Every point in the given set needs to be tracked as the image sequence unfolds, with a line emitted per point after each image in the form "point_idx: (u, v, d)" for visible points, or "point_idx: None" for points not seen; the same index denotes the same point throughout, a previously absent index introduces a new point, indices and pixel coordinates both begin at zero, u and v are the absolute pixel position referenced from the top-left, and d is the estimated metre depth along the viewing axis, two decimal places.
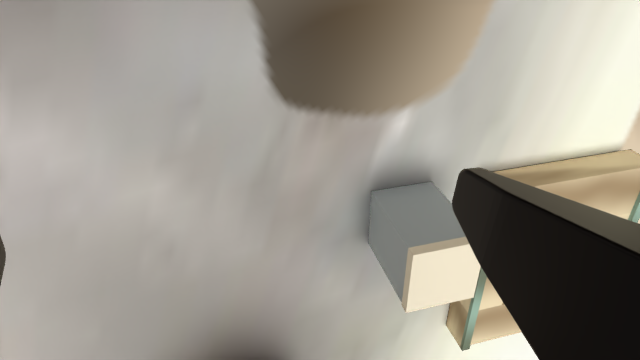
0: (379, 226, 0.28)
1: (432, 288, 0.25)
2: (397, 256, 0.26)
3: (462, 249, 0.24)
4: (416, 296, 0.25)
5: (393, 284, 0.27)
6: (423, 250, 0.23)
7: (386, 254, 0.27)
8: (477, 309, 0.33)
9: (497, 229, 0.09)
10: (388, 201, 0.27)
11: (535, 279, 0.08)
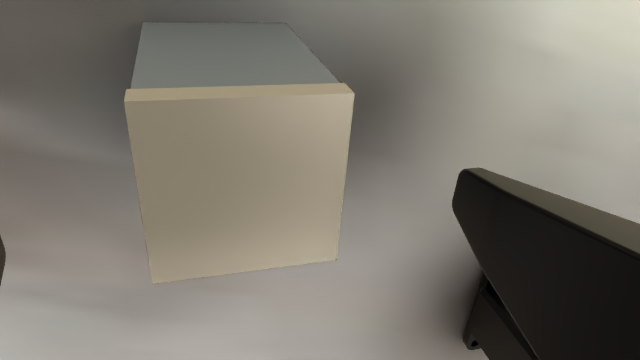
0: None
1: (276, 217, 0.10)
2: None
3: (151, 168, 0.09)
4: (291, 250, 0.10)
5: None
6: (148, 255, 0.10)
7: None
8: None
9: (497, 229, 0.09)
10: None
11: (535, 279, 0.08)
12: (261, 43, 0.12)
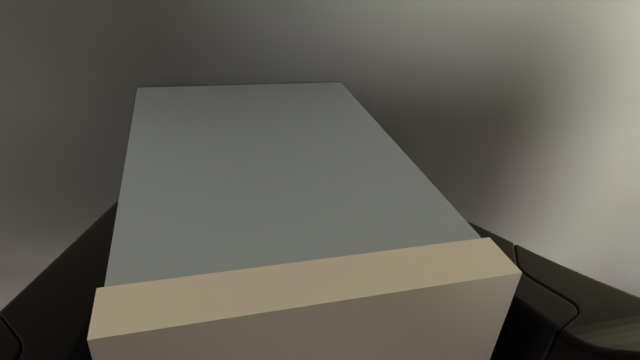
0: None
1: None
2: None
3: None
4: None
5: None
6: None
7: None
8: None
9: None
10: None
11: None
12: (317, 129, 0.08)
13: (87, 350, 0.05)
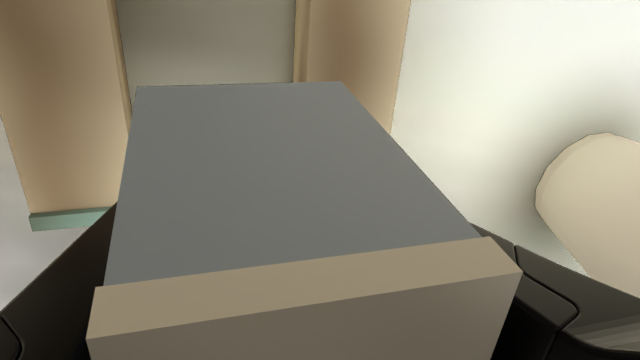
0: None
1: None
2: None
3: None
4: None
5: None
6: None
7: None
8: None
9: None
10: None
11: None
12: (317, 128, 0.08)
13: (87, 350, 0.05)
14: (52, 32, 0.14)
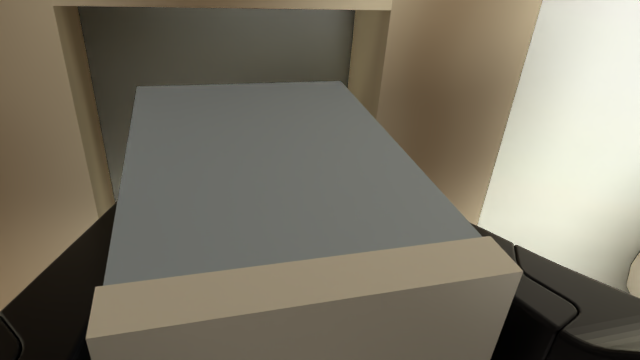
0: None
1: None
2: None
3: None
4: None
5: None
6: None
7: None
8: None
9: None
10: None
11: None
12: (317, 128, 0.08)
13: (87, 350, 0.05)
14: None
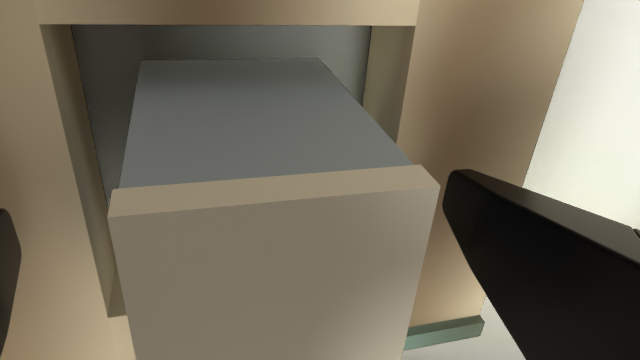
0: None
1: (322, 344, 0.07)
2: None
3: (149, 300, 0.06)
4: None
5: None
6: None
7: None
8: None
9: (486, 230, 0.09)
10: None
11: (523, 281, 0.08)
12: (293, 92, 0.09)
13: None
14: None
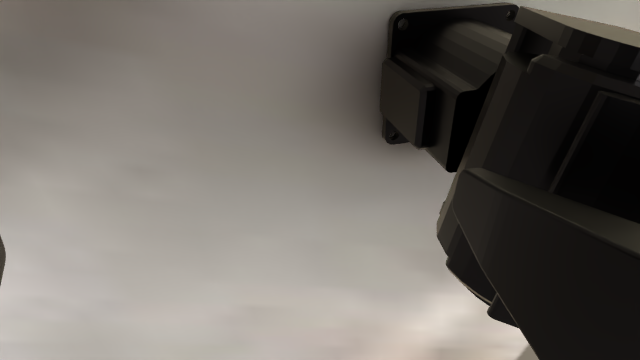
0: None
1: None
2: None
3: None
4: None
5: None
6: None
7: None
8: None
9: (497, 229, 0.09)
10: None
11: (535, 279, 0.08)
12: None
13: None
14: None
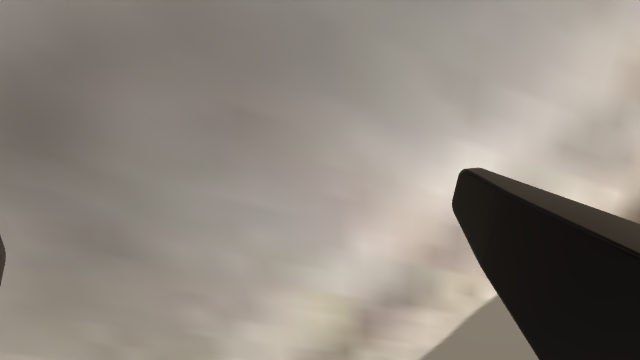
0: None
1: None
2: None
3: None
4: None
5: None
6: None
7: None
8: None
9: (497, 229, 0.09)
10: None
11: (535, 279, 0.08)
12: None
13: None
14: None
